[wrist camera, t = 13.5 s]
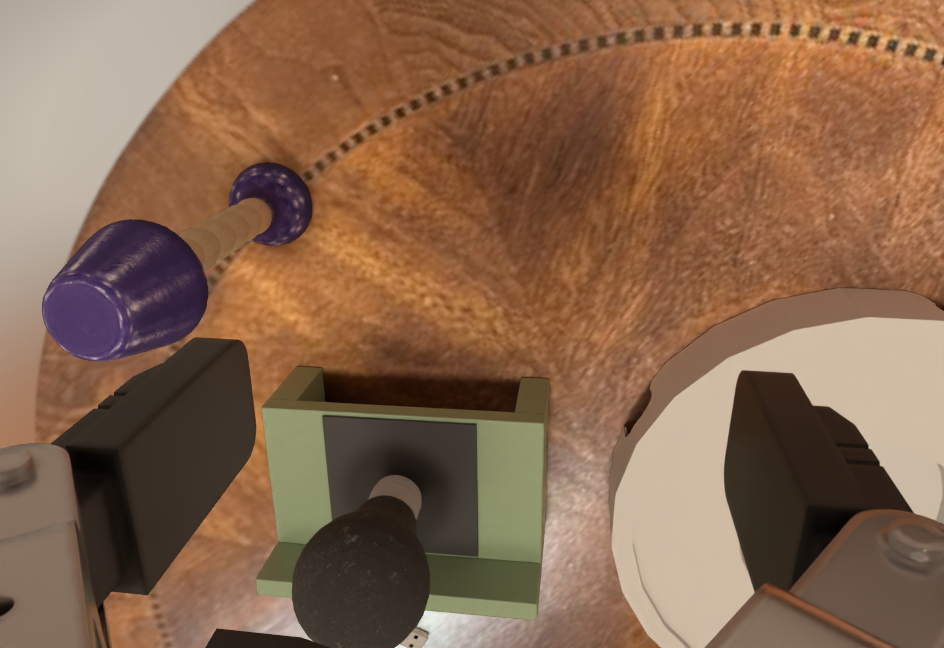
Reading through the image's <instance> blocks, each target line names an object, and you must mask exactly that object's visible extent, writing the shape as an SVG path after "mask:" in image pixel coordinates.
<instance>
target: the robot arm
mask: <svg viewBox="0 0 944 648" xmlns="http://www.w3.org/2000/svg"><path fill="white" fill-rule="evenodd" d="M255 437H256V419H255V411H254V403H253V394H252V386H251V378H250V370H249V361H248V354H247V350H246V347H245V345H244V344H243V342H242V341H240V340H233V339H215V338H198V337H196V338H193V339H192V340H190V341H189V342H188V343H187V344H186V345H184V346H183V347H182V348H181V349H180V350H178V351H177V352H176V353H175V354H174V355H172V356H171V357H170V358H169V359H168V360H166V361H165V362H164V363H162V364H160V365H158V366H155V367H153V368H151V369H149V370H147V371H144V372H142V373H140V374H138V375H136V376H133V377H132V378H131V379H130V380H129V381H127V382H126V383H125V384H124V385H122V386H121V387H120V388H119V389H117V390H116V391H115V392H114V396H112V395H110V396H109V397H108V398H106V399H105V400H104V401H103V402H101V403H100V404H99V405H98V409H93V410H92V411H90V412H89V413H88V414H87V415H85V416H84V417H83V418H82V419H81V420H79V421H78V422H77V423H76V424H74V425H73V426H72V427H71V428H69V429H68V430H67V431H66V432H65V433H63V434H62V435H61V436H60V437H58V438H57V439H56V440H55V441H53V442H52V443H51V444H45V443H29V444H21V445H15V446H10V447H6V448H2V449H0V648H112V643H111V637H110V631H109V625H108V619H107V615H106V611H105V606H104V602H103V601H104V600H105V599H106V598H107V597H108V595H109V594H110V593H111V592H122V593H131V594H141V595H148V594H149V593H150V591H151V590H152V589H153V587H154V586H155V585H156V583H157V582H158V581H159V579H160V578H161V577H162V575H163V574H164V573H165V571H166V570H167V569H168V567H169V566H170V565H171V563H172V562H173V561H174V559H175V558H176V556H177V555H178V554H179V552H180V551H181V550H182V548H183V547H184V546H185V544H186V543H187V542H188V540H189V539H190V538H191V536H192V535H193V534H194V532H195V531H196V530H197V528H198V527H199V526H200V524H201V523H202V521H203V520H204V519H205V517H206V516H207V515H208V513H209V512H210V511H211V509H212V508H213V507H214V505H215V504H216V503H217V501H218V500H219V499H220V497H221V496H222V495H223V493H224V492H225V491H226V489H227V488H228V487H229V485H230V484H231V482H232V481H233V480H234V478H235V477H236V476H237V474H238V473H239V472H240V470H241V469H242V468H243V466H244V465H245V464H246V462H247V461H248V459H249V458H250V456H251V453H252V451H253V447H254V443H255ZM724 488H725V495H726V500H727V503H728V506H729V510H730V513H731V516H732V520H733V523H734V526H735V530H736V533H737V536H738V540H739V543H740V546H741V550H742V553H743V556H744V560H745V563H746V566H747V570H748V573H749V576H750V580H751V583H752V586H753V590H754V594H753V595H752V596H751V597H750V598H749V599H748V601H747V602H746V603H745V604H744V605H743V606H742V607H741V608H740V609H739V610H738V612H737V613H736V614H735V615H734V616H733V617H732V618H731V619H730V620H729V621H728V622H727V624H726V625H725V626H724V627H723V628H722V629H721V630H720V631H719V632H718V633H717V635H716V636H715V637H714V638H713V639H712V640H711V641H710V642H709V643H708V644H707V645H706V647H705V648H944V524H942V523H940V522H938V521H936V520H933V519H930V518H928V517H925V516H922V515H918V514H915V513H914V512H913V511H912V509H911V508H910V506H909V505H908V503H907V502H906V500H905V499H904V497H903V496H902V494H901V493H900V491H899V490H898V488H897V487H896V485H895V484H894V482H893V481H892V479H891V478H890V476H889V475H888V473H887V472H886V470H885V469H884V467H883V466H880V461H879V460H878V458H877V457H876V455H875V454H874V452H873V451H872V449H869V445H868V443H867V442H866V440H865V439H864V437H863V436H862V434H861V433H860V431H859V430H858V428H857V427H856V425H855V424H853V423H852V422H850V421H849V420H848V419H846V418H845V417H843V416H842V415H840V414H839V413H838V412H836V411H835V410H833V409H832V408H830V407H829V406H813V405H812V403H811V402H810V400H809V398H808V397H807V395H806V393H805V391H804V390H803V388H802V386H801V385H800V383H799V381H798V380H797V378H796V376H795V375H794V374H793V373H783V372H766V371H748V370H742V371H741V372H740V374H739V376H738V379H737V383H736V388H735V395H734V401H733V408H732V414H731V421H730V427H729V434H728V440H727V447H726V454H725V461H724ZM206 648H330V647H327V646H324V645H321V644H318V643H316V642H313V641H310V640H307V639H304V638H300V637H291V636H282V635H272V634H263V633H254V632H244V631H235V630H225V629H216V631H215V632H214V634H213V636H212V637H211V639H210V641H209V642H208V644H207V646H206Z"/></svg>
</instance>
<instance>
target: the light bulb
mask: <svg viewBox="0 0 944 648" xmlns="http://www.w3.org/2000/svg"><path fill="white" fill-rule="evenodd" d="M421 499H422V497H421V492H420V490H419V488H418V486H417V485H416V484H415V483H414V482H413V481H411V480H410V479H408V478H406V477H403V476H399V475H390V476H387V477H384V478H382V479H381V480H380V481H379V482H378V483H377V484H376V485H375V487H374V488H373V490H372V492H371V494H370V496H369V498H368V500H367V501H366V502H365V503H363V504H362V505H361V506H360V508H359V509H358V510H357V511H354V512H351V513H348V514H345V515H342V516H340V517H337V518H336V519H334V520H333V521H331V522H330V523H328V524H326V525H325V526H324V527H322V528H321V529H319V530H318V531H317V532H316V533H315V534H314V536H313V537H312V538H311V539H310V540H309V542H308V543H307V544H306V545H305V547H304V548H303V550H302V552H301V554H300V556H299V558H298V560H297V562H296V565H295V569H294V573H293V580H292V601H293V606H294V611H295V614H296V617H297V619H298V622H299V624H300V625H301V627H302V628H303V630H304V631H305V633H306V634H307V636H308V637H309V638H310V639H311V640H313V641H314V642H316V643H318V644H321V645H324V646H327V647H330V648H395V647H396V646H397V645H399V644H400V643H402V642H403V641H404V640H405V639H406V638H407V637H408V636H409V634H410V633H411V632H412V631H413V630H414V629H415V628H416V626H417V625H418V623H419V621H420V619H421V618H422V616H423V614H424V611H425V608H426V605H427V601H428V598H429V592H430V570H429V565H428V560H427V556H426V553H425V551H424V548H423V546H422V544H421V543H420V541H419V539H418V537H417V521H416V520H417V517H418V514H419V511H420V508H421V502H422V501H421Z"/></svg>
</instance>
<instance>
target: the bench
mask: <svg viewBox="0 0 944 648" xmlns="http://www.w3.org/2000/svg"><path fill="white" fill-rule="evenodd" d="M548 409H549V379H544V378H521V381H520V386H519V392H518V397H517V402H516V407H515V412H498V411H479V410H461V409H442V408H424V407H405V406H387V405H369V404H350V403H332V402H325V394H324V383H323V373H322V368H316V367H296V368H295V369H294V370H293V371H292V373H291V374H290V375H289V376H288V377H287V378H286V379H285V381H284V382H283V383H282V384H281V385H280V386H279V388H278V389H277V390H276V391H275V392H274V393H273V395H272V396H271V397H270V398H269V399H268V400H267V401H266V403H265V404H264V405H263V406H262V407H261V411H262V419H263V427H264V435H265V442H266V450H267V458H268V466H269V473H270V481H271V489H272V497H273V505H274V512H275V520H276V528H277V536H278V543H277V545H276V546H275V548H274V550H273V551H272V553H271V555H270V556H269V558H268V560H267V561H266V563H265V565H264V566H263V568H262V570H261V571H260V573H259V574H258V576H257V578H256V587H257V593H258V595H264V596H274V597H285V598H292V580H293V573H294V569H295V565H296V562H297V560H298V558H299V556H300V554H301V552H302V550H303V548H304V547H305V545H306V544H307V543H308V542H309V540H310V539H311V538H312V537H313V536H314V534H315V533H316V532H317V531H318V530H319V529H321V528H322V527H324V526H325V525H326V524H328V523H330V522H331V521H333V520H334V519H336V518H337V517H340V516H342V515H345V514H348V513H351V512H354V511H357V510H358V509H359V508H360V506H361V505H362V504H363V503H365V502H366V501H367V500H368V498H369V496H370V494H371V492H372V490H373V488H374V487H375V485H376V484H377V483H378V482H379V481H380V480H381V479H382V478H384V477H387V476H390V475H399V476H403V477H406V478H408V479H410V480H411V481H413V482H414V483H415V484H416V485H417V486H418V488H419V490H420V492H421V497H422V499H421V501H422V502H421V508H420V511H419V514H418V517H417V520H416V521H417V537H418V539H419V541H420V543H421V544H422V546H423V548H424V551H425V553H426V556H427V560H428V565H429V570H430V592H429V598H428V601H427V605H426V608H425V610H427V611H438V612H449V613H460V614H470V615H481V616H492V617H503V618H514V619H525V620H537V616H538V604H539V593H540V581H541V569H542V557H543V546H544V534H545V522H546V489H547V449H548Z"/></svg>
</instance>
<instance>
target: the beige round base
mask: <svg viewBox="0 0 944 648" xmlns="http://www.w3.org/2000/svg"><path fill="white" fill-rule="evenodd" d="M742 370H748V371H766V372H783V373H793V374H794V375H795V376H796V378H797V380H798V381H799V383H800V385H801V386H802V388H803V390H804V391H805V393H806V395H807V397H808V398H809V400H810V402H811V403H812V405H813V406H829V407H830V408H832V409H833V410H835V411H836V412H838V413H839V414H840V415H842V416H843V417H845V418H846V419H848V420H849V421H850V422H852V423H853V424H855V425H856V427H857V428H858V430H859V431H860V433H861V434H862V436H863V437H864V439H865V440H866V442H867V443H868V445H869V449H872V451H873V452H874V454H875V455H876V457H877V458H878V460H879V461H880V466H883V467H884V469H885V470H886V472H887V473H888V475H889V476H890V478H891V479H892V481H893V482H894V484H895V485H896V487H897V488H898V490H899V491H900V493H901V494H902V496H903V497H904V499H905V500H906V502H907V503H908V505H909V506H910V508H911V509H912V511H913V512H914V513H915V514H918V515H922V516H925V517H928V518H930V519H933V520H936V521H938V522H940V523H942V524H944V311H943V310H941V309H939V308H938V307H936V305H935V302H932V301H930V300H929V299H927V298H925V297H924V296H922V295H918V294H915V293H912V292H908V291H899V290H877V289H855V288H835V289H830V290H824V291H819V292H814V293H808V294H803V295H798V296H792V297H787V298H782V299H776V300H772V301H770V302H768V303H765V304H763V305H761V306H758V307H756V308H754V309H752V310H749V311H747V312H745V313H742V314H740V315H738V316H736V317H733V318H731V319H729V320H727V321H724V322H722V323H720V324H717V325H715V326H713V327H712V328H711V329H709V330H708V331H707V332H705V333H704V334H703V335H701V336H700V337H699V338H698V339H696V340H695V341H694V342H692V343H691V344H690V345H688V346H687V347H686V348H684V349H683V350H682V351H680V352H679V353H678V354H676V355H675V356H674V357H673V358H671V359H670V360H669V361H667V362H666V363H665V364H664V366H663V367H662V368H661V369H660V371H659V372H658V373H657V375H656V376H655V377H654V378H653V380H652V381H651V385H650V392H651V394H652V397H651V400H650V402H649V404H648V406H647V408H646V410H645V411H644V413H643V414H642V416H641V417H640V418H639V420H638V421H637V422H636V423H635V424H634V426H633V428H632V430H631V432H630V433H629V434H628V431H627V428H626V427H623V429H622V432H621V434H620V437H619V439H618V442H617V444H616V447H615V449H614V452H613V459H612V471H611V483H610V495H609V508H610V530H611V546H612V550H613V555H614V559H615V563H616V567H617V572H618V576H619V580H620V584H621V588H622V593H623V594H624V596H625V598H626V599H627V601H628V603H629V604H630V606H631V608H632V609H633V611H634V613H635V614H636V616H637V618H638V620H639V621H640V623H641V625H642V626H643V628H644V630H645V631H646V633H647V635H648V636H649V637H650V638H651V639H652V640H654V641H655V642H656V643H657V644H658V645H659V646H660V647H661V648H705V647H706V645H707V644H708V643H709V642H710V641H711V640H712V639H713V638H714V637H715V636H716V635H717V633H718V632H719V631H720V630H721V629H722V628H723V627H724V626H725V625H726V624H727V622H728V621H729V620H730V619H731V618H732V617H733V616H734V615H735V614H736V613H737V612H738V610H739V609H740V608H741V607H742V606H743V605H744V604H745V603H746V602H747V601H748V599H749V598H750V597H751V596H752V595H753V594H754V590H753V586H752V583H751V580H750V576H749V573H748V570H747V566H746V563H745V560H744V556H743V553H742V550H741V546H740V543H739V540H738V536H737V533H736V530H735V526H734V523H733V520H732V516H731V513H730V510H729V506H728V503H727V500H726V495H725V488H724V461H725V454H726V447H727V440H728V434H729V427H730V421H731V414H732V408H733V401H734V395H735V388H736V383H737V379H738V376H739V374H740V372H741V371H742Z"/></svg>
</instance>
